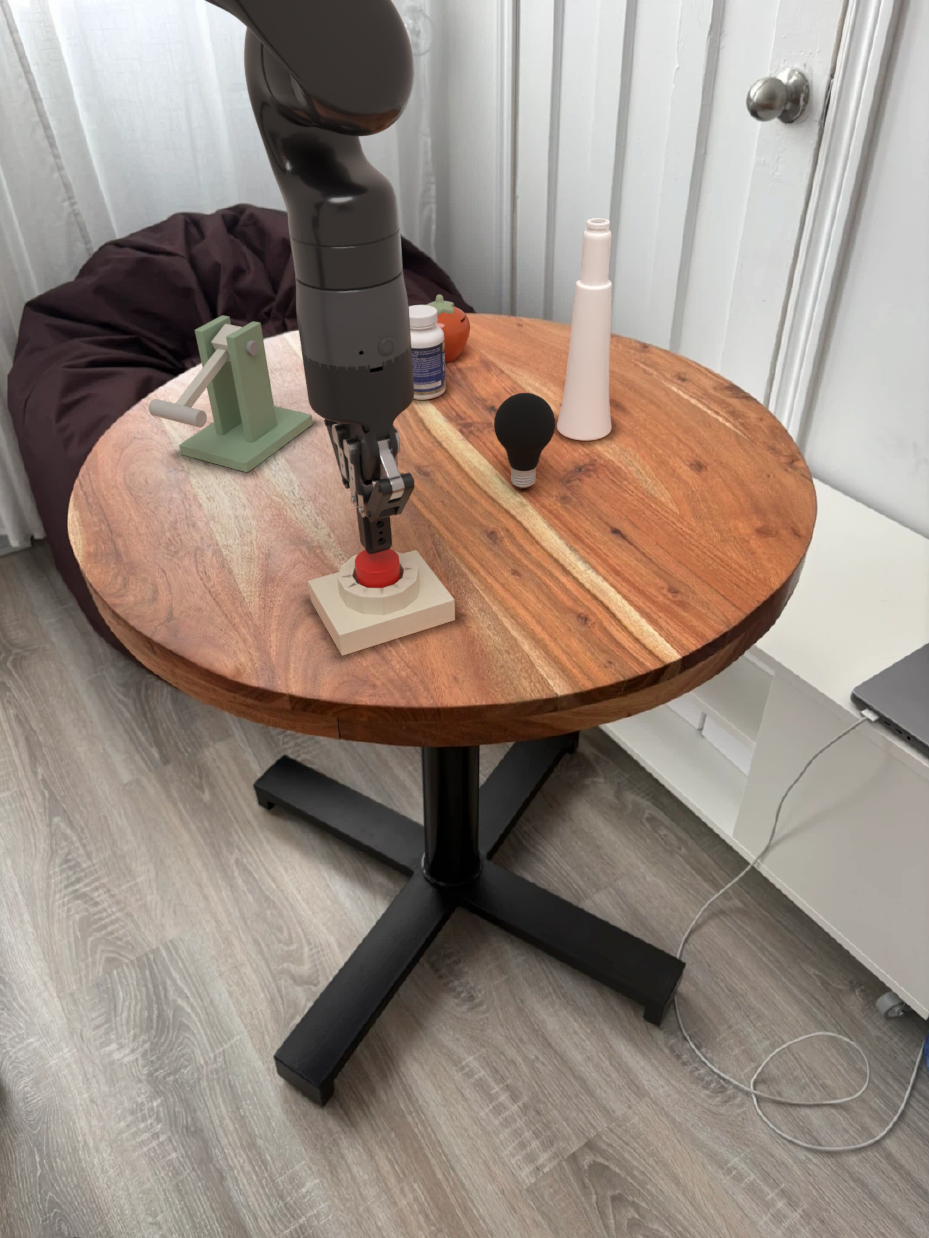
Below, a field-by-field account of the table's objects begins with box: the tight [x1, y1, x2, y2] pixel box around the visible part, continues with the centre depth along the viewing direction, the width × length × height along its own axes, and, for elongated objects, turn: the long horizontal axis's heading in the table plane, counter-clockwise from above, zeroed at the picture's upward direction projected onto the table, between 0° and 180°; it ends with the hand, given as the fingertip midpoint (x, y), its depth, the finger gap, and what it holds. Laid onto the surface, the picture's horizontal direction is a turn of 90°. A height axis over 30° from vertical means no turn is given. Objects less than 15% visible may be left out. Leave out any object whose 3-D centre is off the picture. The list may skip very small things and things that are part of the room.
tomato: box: [426, 293, 471, 364], centre depth 115 cm, size 7×7×8 cm
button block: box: [307, 549, 456, 657], centre depth 77 cm, size 10×8×4 cm
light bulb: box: [493, 392, 556, 490], centre depth 90 cm, size 6×6×10 cm
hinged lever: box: [148, 324, 243, 428], centre depth 93 cm, size 12×6×2 cm, turn 153°
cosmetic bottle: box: [556, 217, 613, 442], centre depth 95 cm, size 6×6×22 cm
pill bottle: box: [409, 304, 447, 401], centre depth 107 cm, size 5×5×10 cm
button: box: [355, 548, 400, 588], centre depth 75 cm, size 4×4×2 cm
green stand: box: [178, 315, 314, 473], centre depth 98 cm, size 12×9×13 cm
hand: (376, 547), depth 74 cm, fingers closed
